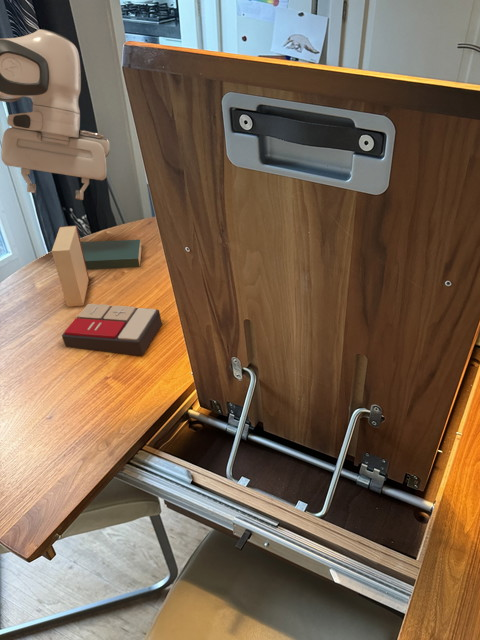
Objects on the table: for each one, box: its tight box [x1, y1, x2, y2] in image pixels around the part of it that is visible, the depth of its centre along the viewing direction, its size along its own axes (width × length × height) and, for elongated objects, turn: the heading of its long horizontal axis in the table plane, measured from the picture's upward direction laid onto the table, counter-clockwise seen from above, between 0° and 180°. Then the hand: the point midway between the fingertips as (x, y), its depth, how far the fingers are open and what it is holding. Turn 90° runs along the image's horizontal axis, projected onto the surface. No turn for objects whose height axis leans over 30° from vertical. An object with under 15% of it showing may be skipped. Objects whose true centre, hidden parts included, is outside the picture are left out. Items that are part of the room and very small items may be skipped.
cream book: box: [51, 225, 90, 308], centre depth 106 cm, size 3×11×13 cm, turn 10°
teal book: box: [80, 239, 143, 271], centre depth 122 cm, size 14×10×3 cm
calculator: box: [61, 303, 163, 357], centre depth 98 cm, size 11×4×15 cm
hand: (55, 196), depth 110 cm, fingers open, 8 cm apart
